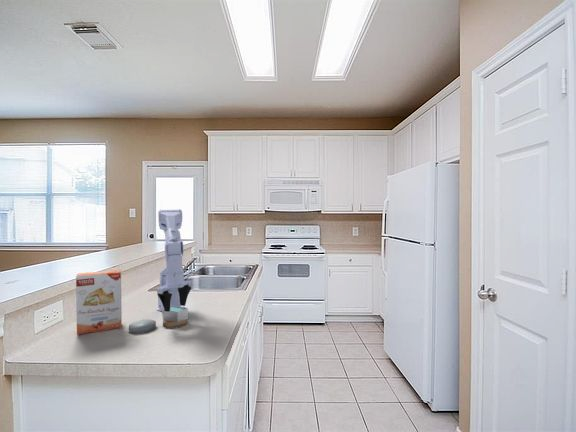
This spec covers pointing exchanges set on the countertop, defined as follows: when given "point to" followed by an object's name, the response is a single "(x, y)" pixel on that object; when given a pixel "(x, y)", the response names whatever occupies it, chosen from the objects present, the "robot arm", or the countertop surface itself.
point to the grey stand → (142, 326)
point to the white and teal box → (175, 314)
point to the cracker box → (98, 301)
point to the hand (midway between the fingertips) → (175, 308)
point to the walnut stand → (174, 323)
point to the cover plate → (175, 309)
